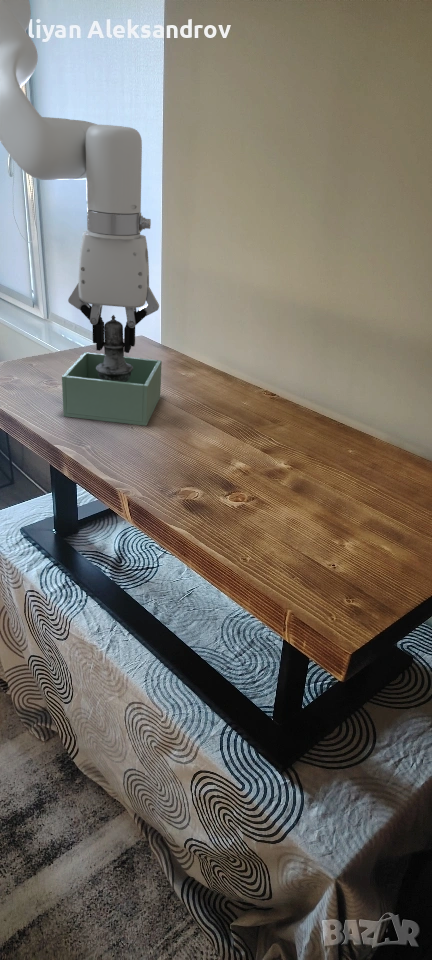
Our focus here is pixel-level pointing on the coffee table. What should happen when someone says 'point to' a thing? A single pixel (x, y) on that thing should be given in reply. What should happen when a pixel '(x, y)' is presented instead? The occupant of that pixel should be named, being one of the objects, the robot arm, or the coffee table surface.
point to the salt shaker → (114, 354)
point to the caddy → (111, 391)
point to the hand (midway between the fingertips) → (114, 347)
